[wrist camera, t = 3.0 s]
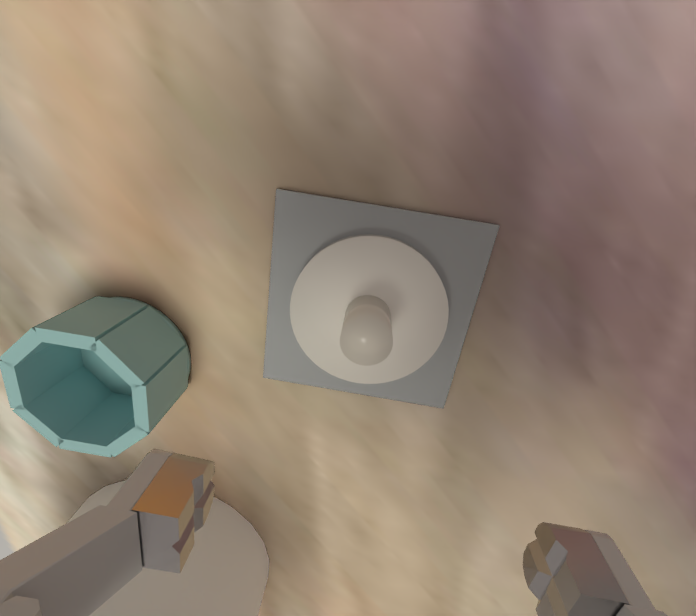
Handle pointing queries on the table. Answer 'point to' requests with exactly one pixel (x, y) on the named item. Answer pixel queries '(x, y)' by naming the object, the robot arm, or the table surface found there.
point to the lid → (369, 309)
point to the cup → (97, 374)
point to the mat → (363, 218)
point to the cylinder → (197, 570)
